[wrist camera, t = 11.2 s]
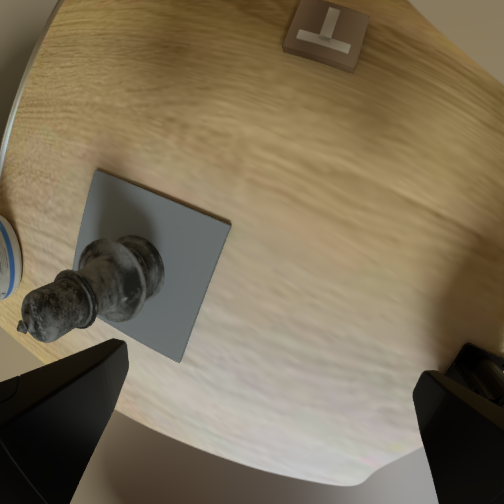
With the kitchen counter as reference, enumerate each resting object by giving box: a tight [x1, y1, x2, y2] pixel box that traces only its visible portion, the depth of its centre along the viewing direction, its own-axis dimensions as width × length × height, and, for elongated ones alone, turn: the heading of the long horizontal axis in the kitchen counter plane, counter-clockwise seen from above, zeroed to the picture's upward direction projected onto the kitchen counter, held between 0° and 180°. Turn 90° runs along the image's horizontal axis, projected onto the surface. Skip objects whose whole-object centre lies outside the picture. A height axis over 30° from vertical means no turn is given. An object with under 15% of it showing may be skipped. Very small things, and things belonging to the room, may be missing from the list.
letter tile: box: [282, 0, 370, 74], centre depth 17 cm, size 5×5×2 cm
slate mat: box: [72, 170, 232, 363], centre depth 22 cm, size 12×12×1 cm
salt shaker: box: [17, 235, 165, 343], centre depth 16 cm, size 6×6×12 cm
